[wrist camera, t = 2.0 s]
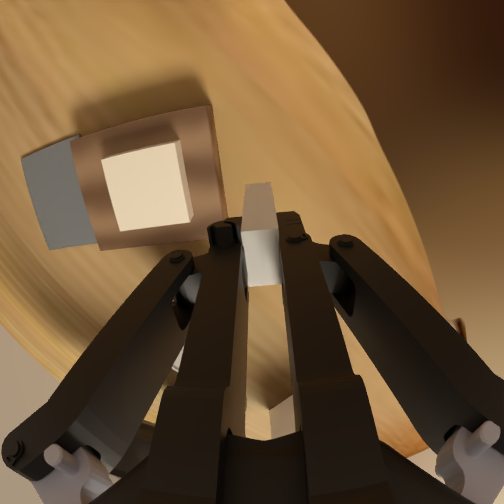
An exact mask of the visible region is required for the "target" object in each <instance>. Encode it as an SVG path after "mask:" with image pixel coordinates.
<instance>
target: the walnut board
mask: <svg viewBox="0 0 504 504" xmlns="http://www.w3.org/2000/svg"><path fill="white" fill-rule="evenodd" d="M177 140H180V142H181V148H182V154H183V160H184V166H185V171H186V177H187V182H188V188H189V193H190V198H191V203H192V208H193V213H194V215H193V217H192V219H191V221H190V222H189V223H181V224H173V225H165V226H157V227H149V228H142V229H134V230H127V231H120V229H119V226H118V223H117V219H116V216H115V212H114V209H113V205H112V202H111V198H110V194H109V191H108V187H107V183H106V179H105V175H104V170H103V166H102V162H101V160H102V159H104V158H106V157H108V156H111V155H114V154H118V153H122V152H126V151H130V150H134V149H139V148H143V147H147V146H152V145H157V144H162V143H167V142H172V141H177ZM70 146H71V151H72V156H73V160H74V164H75V169H76V173H77V177H78V181H79V184H80V188H81V192H82V195H83V199H84V202H85V206H86V209H87V212H88V216H89V219H90V222H91V225H92V228H93V231H94V234H95V237H96V240H97V243H98V245H99V248H100V251H104V250H113V249H122V248H130V247H139V246H148V245H157V244H167V243H176V242H186V241H195V240H205V239H209V238H208V233H207V227H208V226H209V225H211V224H212V223H215V222H217V221H222V220H225V219H226V218H228V213H227V206H226V199H225V193H224V186H223V179H222V172H221V165H220V159H219V151H218V144H217V137H216V130H215V123H214V115H213V108H212V105H204V106H198V107H192V108H187V109H182V110H177V111H172V112H167V113H163V114H158V115H154V116H150V117H146V118H142V119H138V120H134V121H131V122H127V123H123V124H120V125H117V126H113V127H110V128H107V129H103V130H100V131H97V132H94V133H91V134H88V135H85V136H83V137H80V138H77V139H74V140H72V141H70Z"/></svg>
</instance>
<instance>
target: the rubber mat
mask: <svg viewBox="0 0 504 504" xmlns="http://www.w3.org/2000/svg"><path fill="white" fill-rule="evenodd" d="M80 137H81V135H80V134H79V135H76V136H74V137H71V138H69V139H66V140H63V141H61V142H58V143H56V144H54V145H51V146H49V147H46V148H44V149H42V150H40V151H37V152H35V153H33V154H31V155H29V156H27V157H24V158H22V159H21V162H22V167H23V171H24V175H25V179H26V183H27V186H28V190H29V193H30V197H31V200H32V203H33V206H34V210H35V213H36V216H37V219H38V221H39V224H40V227H41V230H42V233H43V235H44V238H45V241H46V243H47V246H48V248H49V250H53V249H59V248H66V247H73V246H80V245H87V244H95V243H97V240H96V237H95V234H94V231H93V228H92V225H91V222H90V219H89V216H88V212H87V209H86V206H85V202H84V199H83V195H82V192H81V188H80V184H79V181H78V177H77V173H76V169H75V164H74V160H73V156H72V151H71V146H70V141H72V140H74V139H77V138H80Z"/></svg>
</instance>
